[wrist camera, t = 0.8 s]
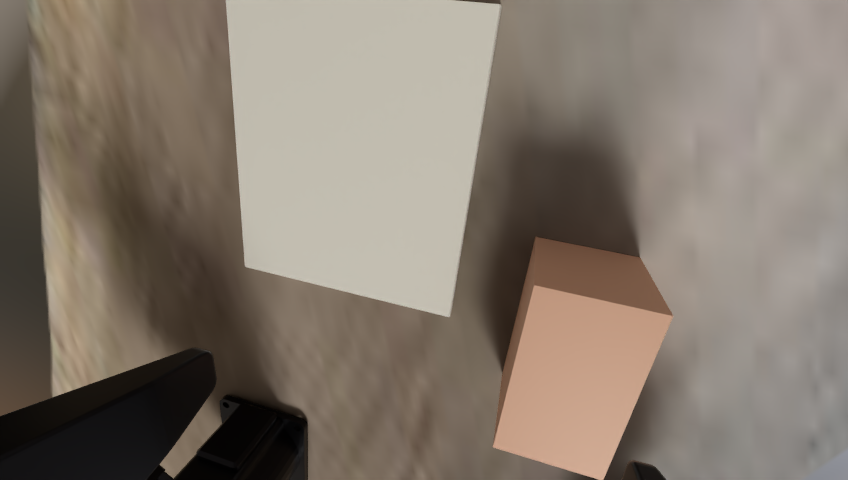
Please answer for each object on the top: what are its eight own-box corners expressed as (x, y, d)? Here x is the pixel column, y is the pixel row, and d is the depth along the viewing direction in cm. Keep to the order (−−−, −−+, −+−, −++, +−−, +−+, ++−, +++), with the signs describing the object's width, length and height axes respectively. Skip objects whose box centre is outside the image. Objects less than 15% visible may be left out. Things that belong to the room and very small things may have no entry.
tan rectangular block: (589, 394, 21) (602, 481, 16) (502, 371, 22) (492, 447, 17) (639, 256, 18) (673, 316, 13) (535, 235, 18) (533, 285, 14)
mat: (451, 312, 21) (449, 317, 20) (250, 263, 23) (245, 266, 23) (501, 6, 15) (500, 4, 15) (232, -18, 18) (224, -20, 17)
